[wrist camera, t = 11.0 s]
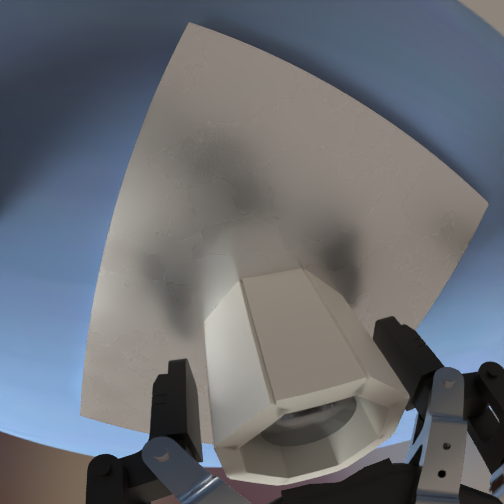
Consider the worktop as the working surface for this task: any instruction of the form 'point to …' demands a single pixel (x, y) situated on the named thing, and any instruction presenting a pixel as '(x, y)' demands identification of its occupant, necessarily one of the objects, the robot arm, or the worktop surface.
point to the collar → (293, 377)
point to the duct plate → (261, 222)
